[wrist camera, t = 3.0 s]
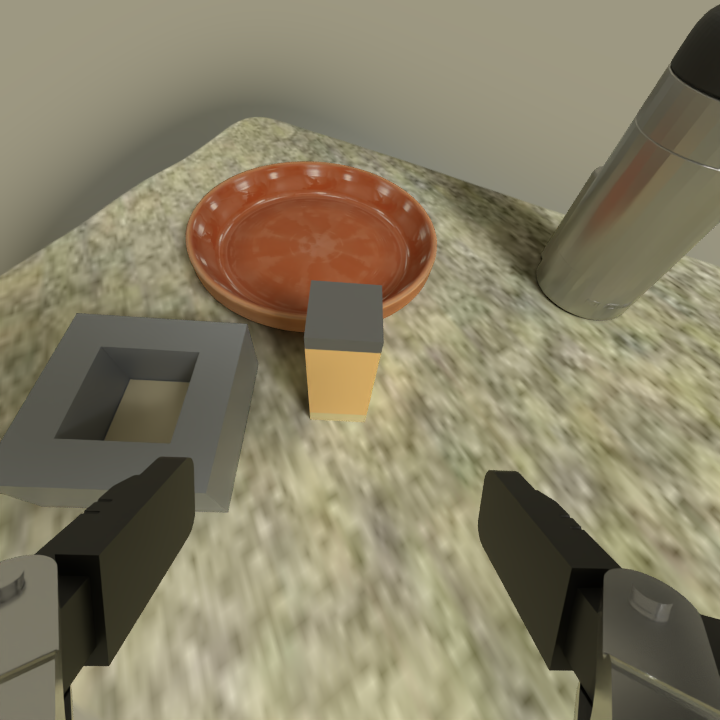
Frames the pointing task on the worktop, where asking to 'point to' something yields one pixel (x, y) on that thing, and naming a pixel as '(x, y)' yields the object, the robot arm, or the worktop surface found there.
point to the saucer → (307, 239)
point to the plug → (342, 348)
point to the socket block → (132, 409)
